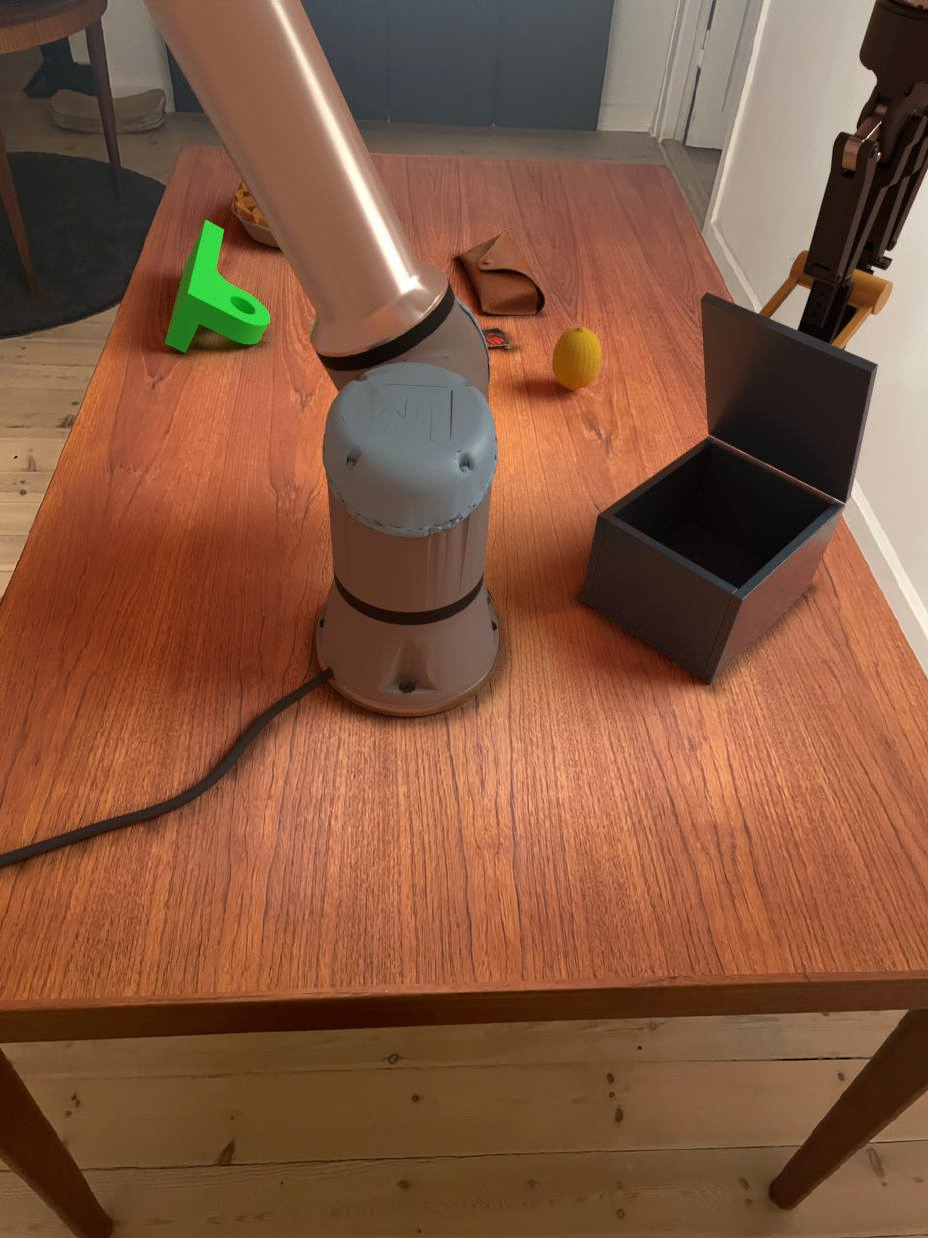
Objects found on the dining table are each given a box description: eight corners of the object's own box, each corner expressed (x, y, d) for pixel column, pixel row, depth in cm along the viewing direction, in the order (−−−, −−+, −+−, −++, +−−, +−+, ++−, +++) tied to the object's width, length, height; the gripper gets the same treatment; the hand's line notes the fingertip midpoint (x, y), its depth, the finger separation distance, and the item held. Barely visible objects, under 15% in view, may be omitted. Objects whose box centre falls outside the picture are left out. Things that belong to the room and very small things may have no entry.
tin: (710, 685, 75) (742, 600, 68) (580, 600, 82) (597, 514, 75) (808, 588, 84) (846, 504, 77) (684, 518, 91) (709, 435, 83)
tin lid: (871, 372, 61) (943, 281, 63) (700, 298, 68) (768, 217, 69) (845, 504, 77) (903, 429, 78) (707, 434, 83) (763, 366, 84)
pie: (376, 260, 127) (375, 224, 123) (218, 251, 126) (213, 214, 123) (389, 199, 142) (389, 165, 138) (249, 190, 141) (245, 156, 138)
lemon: (561, 372, 109) (570, 309, 103) (603, 387, 107) (614, 323, 101) (540, 393, 105) (548, 329, 100) (583, 408, 104) (593, 344, 98)
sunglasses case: (452, 252, 129) (478, 210, 125) (491, 275, 132) (517, 234, 129) (482, 314, 117) (512, 269, 113) (525, 336, 120) (554, 294, 117)
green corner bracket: (243, 381, 110) (268, 334, 106) (164, 344, 106) (187, 293, 102) (254, 301, 124) (277, 257, 120) (184, 265, 120) (206, 218, 116)
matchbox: (495, 327, 115) (495, 324, 115) (517, 346, 112) (518, 343, 112) (464, 336, 113) (464, 332, 113) (486, 355, 110) (486, 351, 110)
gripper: (950, 31, 49) (810, 408, 66) (1052, -7, 57) (905, 337, 74) (824, 2, 52) (722, 367, 69) (937, -30, 60) (821, 304, 77)
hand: (817, 351), depth 71 cm, fingers closed on tin lid, 2 cm apart
